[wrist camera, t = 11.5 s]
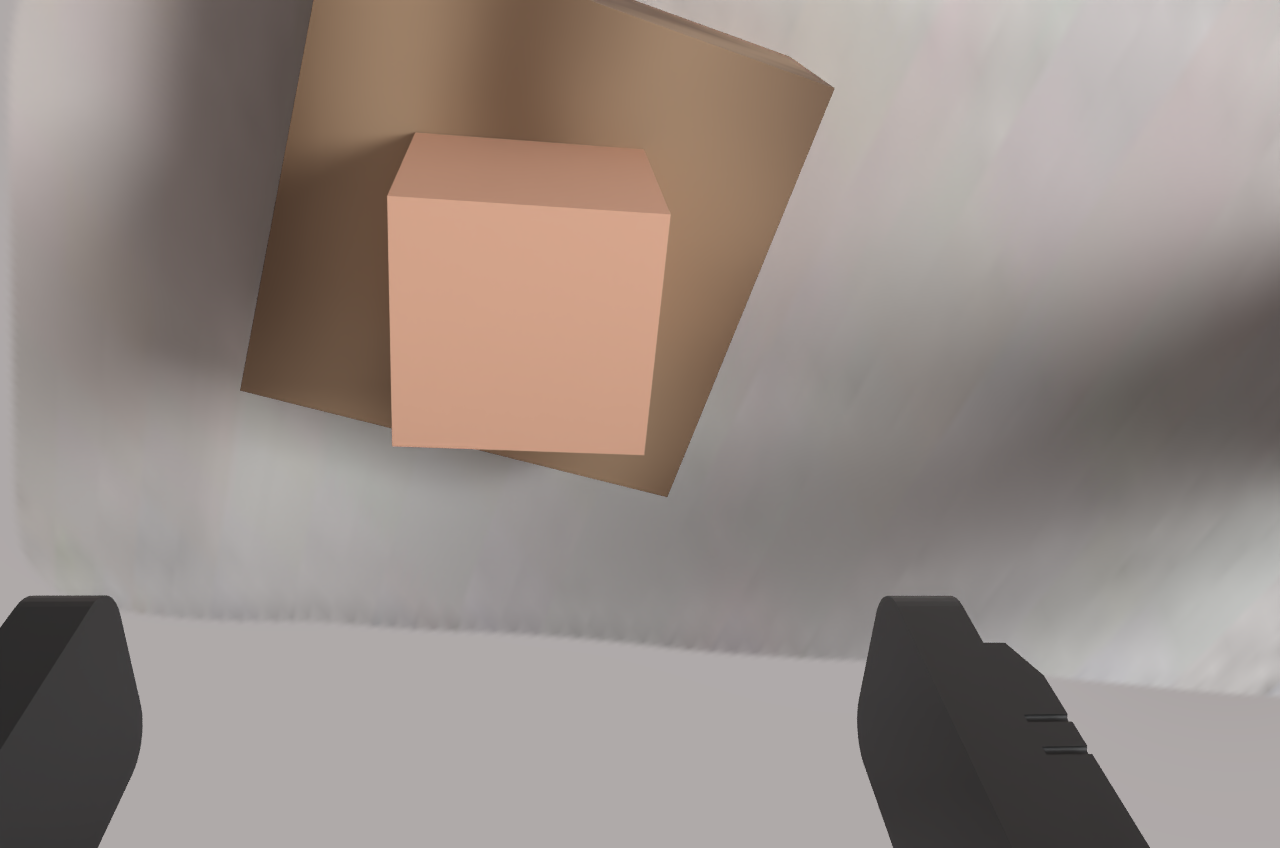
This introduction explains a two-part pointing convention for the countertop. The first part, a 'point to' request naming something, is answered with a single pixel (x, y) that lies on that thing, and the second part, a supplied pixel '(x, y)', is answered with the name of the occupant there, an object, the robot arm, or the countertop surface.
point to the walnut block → (532, 111)
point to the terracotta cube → (524, 295)
